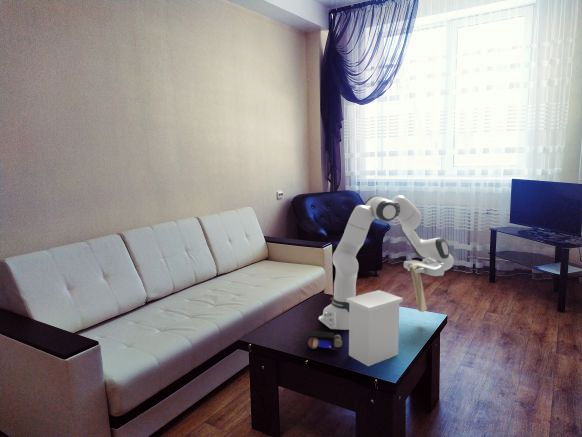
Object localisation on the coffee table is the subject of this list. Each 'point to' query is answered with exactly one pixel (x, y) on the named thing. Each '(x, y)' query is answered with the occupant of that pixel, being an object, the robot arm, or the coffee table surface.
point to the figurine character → (315, 343)
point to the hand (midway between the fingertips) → (412, 270)
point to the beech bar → (418, 288)
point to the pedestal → (373, 326)
